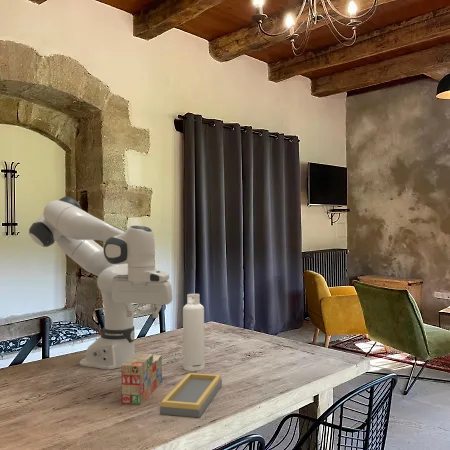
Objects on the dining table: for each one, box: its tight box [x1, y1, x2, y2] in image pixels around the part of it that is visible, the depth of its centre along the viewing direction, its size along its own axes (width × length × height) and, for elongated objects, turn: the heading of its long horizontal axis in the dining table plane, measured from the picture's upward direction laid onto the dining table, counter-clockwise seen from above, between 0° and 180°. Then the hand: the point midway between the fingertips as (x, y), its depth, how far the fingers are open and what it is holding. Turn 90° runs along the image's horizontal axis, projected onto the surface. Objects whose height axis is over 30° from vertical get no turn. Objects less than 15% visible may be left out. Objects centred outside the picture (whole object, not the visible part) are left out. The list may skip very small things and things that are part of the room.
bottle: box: [182, 293, 205, 372], centre depth 179 cm, size 8×8×28 cm
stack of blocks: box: [121, 353, 163, 405], centre depth 154 cm, size 21×6×12 cm, turn 170°
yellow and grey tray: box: [159, 372, 223, 418], centre depth 148 cm, size 12×27×4 cm, turn 167°
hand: (142, 317), depth 154 cm, fingers open, 8 cm apart
